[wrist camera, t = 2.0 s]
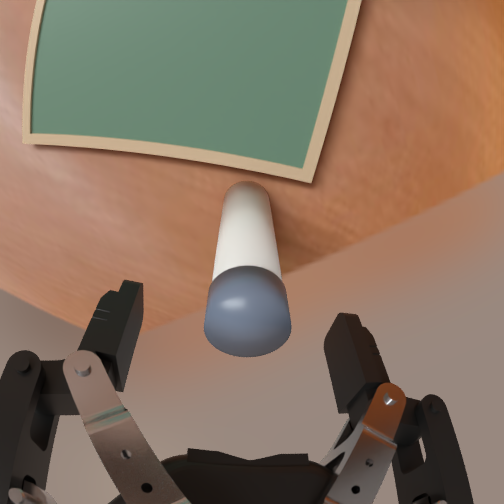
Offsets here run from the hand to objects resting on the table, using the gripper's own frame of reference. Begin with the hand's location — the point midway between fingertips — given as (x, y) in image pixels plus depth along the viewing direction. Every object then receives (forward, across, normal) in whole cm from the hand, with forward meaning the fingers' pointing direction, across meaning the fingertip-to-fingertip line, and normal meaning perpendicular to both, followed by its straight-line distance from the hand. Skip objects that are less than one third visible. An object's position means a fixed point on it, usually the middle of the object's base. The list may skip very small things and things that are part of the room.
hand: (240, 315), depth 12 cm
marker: (+11, 0, 0) cm, 11 cm away
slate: (+12, +7, -11) cm, 17 cm away
